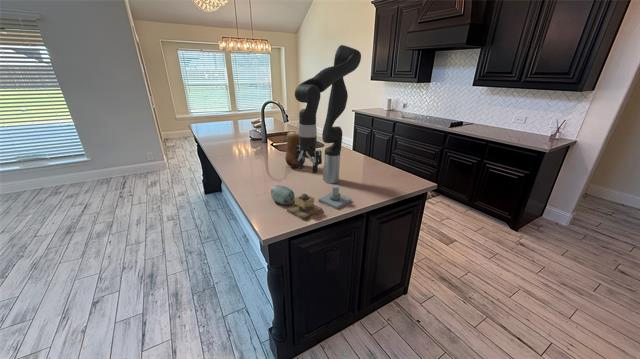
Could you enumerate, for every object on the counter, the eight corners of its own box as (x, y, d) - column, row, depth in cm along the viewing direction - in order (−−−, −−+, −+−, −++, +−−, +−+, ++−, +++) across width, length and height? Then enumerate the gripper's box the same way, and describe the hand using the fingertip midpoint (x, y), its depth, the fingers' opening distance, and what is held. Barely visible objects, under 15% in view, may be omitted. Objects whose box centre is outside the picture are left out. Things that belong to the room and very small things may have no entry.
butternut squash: (306, 164, 183) (306, 130, 173) (303, 171, 171) (303, 134, 161) (287, 163, 184) (286, 129, 175) (283, 170, 172) (281, 133, 162)
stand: (286, 211, 120) (286, 195, 117) (304, 202, 128) (304, 187, 125) (304, 220, 112) (304, 203, 109) (322, 211, 121) (322, 195, 117)
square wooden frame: (294, 203, 119) (294, 198, 117) (304, 199, 123) (304, 193, 122) (304, 208, 115) (304, 202, 113) (314, 203, 119) (314, 198, 118)
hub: (318, 201, 130) (318, 186, 127) (333, 194, 138) (333, 179, 135) (336, 209, 122) (337, 193, 119) (351, 201, 131) (352, 186, 127)
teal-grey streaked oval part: (301, 196, 127) (291, 182, 122) (289, 210, 123) (278, 196, 118) (286, 194, 137) (275, 180, 132) (274, 206, 133) (263, 193, 128)
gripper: (289, 133, 108) (290, 169, 114) (313, 138, 100) (313, 176, 106) (302, 131, 114) (302, 165, 120) (326, 135, 105) (325, 172, 111)
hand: (307, 170), depth 113 cm, fingers open, 8 cm apart
